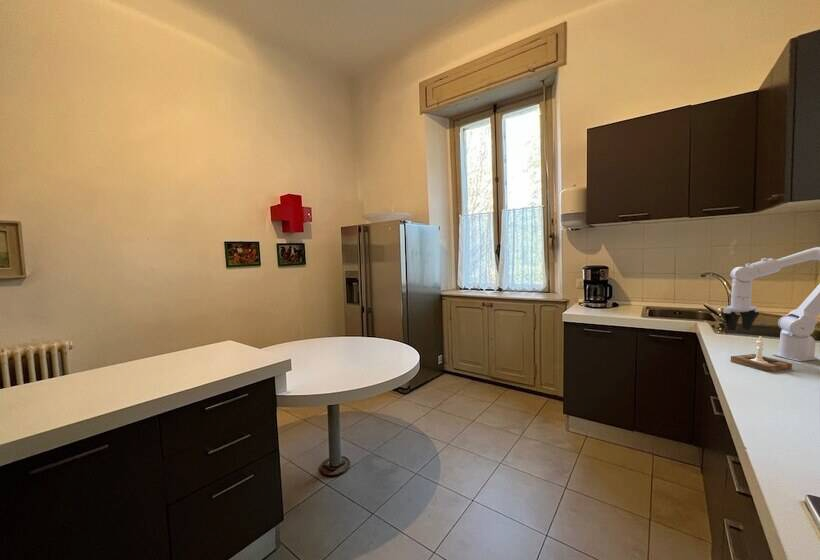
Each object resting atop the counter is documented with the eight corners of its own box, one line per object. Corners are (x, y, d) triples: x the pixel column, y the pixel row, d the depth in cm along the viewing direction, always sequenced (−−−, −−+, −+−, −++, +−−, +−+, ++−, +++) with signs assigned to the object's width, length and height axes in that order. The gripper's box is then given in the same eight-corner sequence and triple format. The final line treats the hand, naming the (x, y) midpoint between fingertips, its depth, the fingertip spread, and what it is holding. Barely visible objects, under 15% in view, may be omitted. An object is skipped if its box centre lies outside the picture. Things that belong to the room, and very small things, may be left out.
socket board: (753, 358, 124) (753, 353, 124) (791, 369, 113) (792, 363, 113) (730, 361, 122) (730, 356, 122) (767, 372, 111) (768, 366, 111)
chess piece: (772, 366, 115) (774, 338, 114) (756, 365, 116) (758, 338, 115) (761, 361, 120) (762, 335, 119) (745, 360, 121) (746, 334, 120)
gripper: (743, 294, 135) (741, 326, 136) (715, 296, 132) (713, 328, 134) (764, 296, 128) (762, 330, 129) (735, 298, 125) (733, 332, 127)
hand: (739, 329), depth 131 cm, fingers open, 7 cm apart
